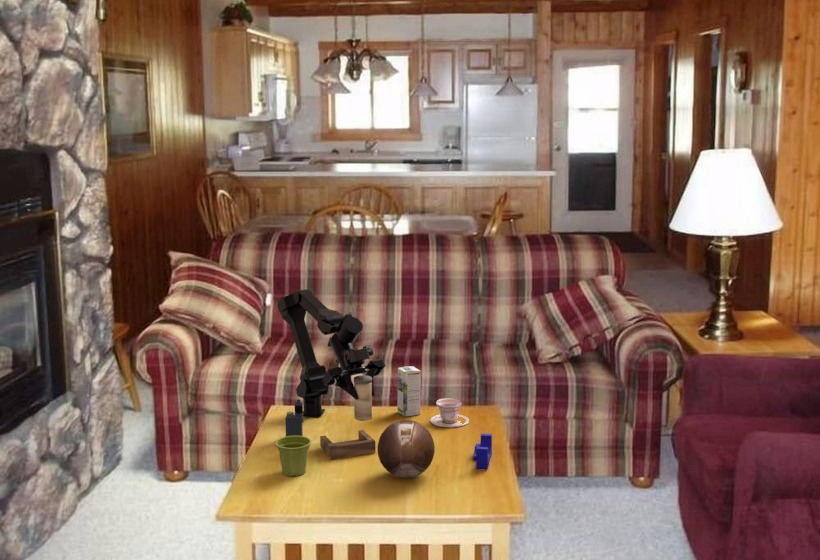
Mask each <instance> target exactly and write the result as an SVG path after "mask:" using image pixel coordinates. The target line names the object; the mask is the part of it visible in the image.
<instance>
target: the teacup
mask: <svg viewBox="0 0 820 560" xmlns="http://www.w3.org/2000/svg"><path fill="white" fill-rule="evenodd" d="M435 405H436V407H438V410H439V412H440V413H439V414H436V415H434V416H432V417H431V418H430V419H429V422H430V424H432V425H433V426H436V427H440V428H458V427H463V426H467V424H469V422H470V418H468V417H467V416H465V415H462V414H459V411H460V408H461V406H462V401H461V400H459V399H457V398H451V397H447V398H446V397H445V398H444V397H443V398H439V399H438V400H436V402H435ZM458 416H459V417H462V418H464V419H465V420H466V421H465V423H464V424H462V423H460V422H461V421H458V420H456V419H457V418H458ZM439 417H440V418H439ZM455 421H457V422H455Z"/></svg>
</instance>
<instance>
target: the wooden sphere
mask: <svg viewBox="0 0 820 560" xmlns="http://www.w3.org/2000/svg"><path fill="white" fill-rule="evenodd" d="M376 448H377V456H378V459H379V462H380V463H381V465H382V467H383V469H385V471H387V472H388V473H389V474H390V475H393V476H395V477H396V478H397V477H398V478H403V479H410V478H415V477H418V476H419V475H421V474H423V473H424V472H425V471H426V470H428V468H429V467H430V466H431V464H432V462H433V459H434V457H435V451H436V450H435V448H436V446H435V442H434V438H433V436H432V434H431V432H430V431H429V429H428V428H427V427H426V426H424V425H423V424H421V423H419V422H417V421H415V420H410V419H402V420H398V421H395V422H392V423H391V424H389V425H388V426H387V427H385V429H384V430H383V432H382V433H381V434H380V437H379V439H378V442H377V447H376Z"/></svg>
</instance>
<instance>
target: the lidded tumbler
mask: <svg viewBox="0 0 820 560" xmlns="http://www.w3.org/2000/svg"><path fill="white" fill-rule="evenodd" d="M353 385H354V387H355V390H356V392H357V394H358V397H359V398H358V400H356V399H355V398H353V399H354V402H353V403H354V405H353V407H354V410H353V411H354V419H355V420H357V421H361V422H367V421H370V420H372V417H373V409H372V408H373V407H372V406H373V399H372V397H373V396H372V377H371V376H366V375H362V374H361V375H360V374H359V375H357V376H354V377H353Z"/></svg>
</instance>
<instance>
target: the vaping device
mask: <svg viewBox="0 0 820 560" xmlns="http://www.w3.org/2000/svg"><path fill="white" fill-rule="evenodd" d="M303 411H304V409H303V401H301V399H299V398H298V399H296V401H295V402H294V412H293V411H287V412H286V415H285V419H284V421H285V437H287V436H304V434H303V431H304V430H303V423H304V416H303Z"/></svg>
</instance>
